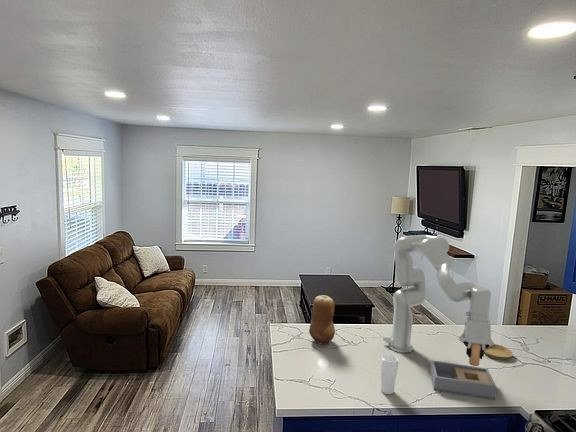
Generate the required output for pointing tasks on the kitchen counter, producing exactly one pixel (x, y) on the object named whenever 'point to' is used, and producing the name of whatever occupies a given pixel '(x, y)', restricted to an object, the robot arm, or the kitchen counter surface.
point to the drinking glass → (388, 373)
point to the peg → (475, 354)
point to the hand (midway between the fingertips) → (474, 356)
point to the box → (462, 380)
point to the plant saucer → (498, 352)
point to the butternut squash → (322, 320)
